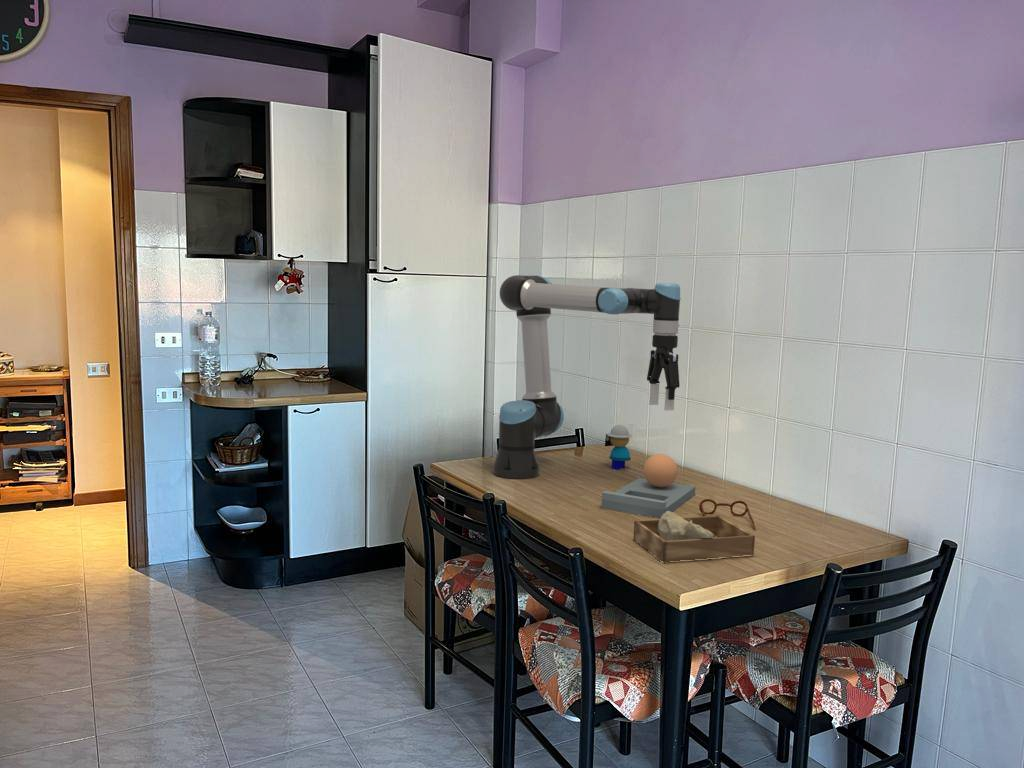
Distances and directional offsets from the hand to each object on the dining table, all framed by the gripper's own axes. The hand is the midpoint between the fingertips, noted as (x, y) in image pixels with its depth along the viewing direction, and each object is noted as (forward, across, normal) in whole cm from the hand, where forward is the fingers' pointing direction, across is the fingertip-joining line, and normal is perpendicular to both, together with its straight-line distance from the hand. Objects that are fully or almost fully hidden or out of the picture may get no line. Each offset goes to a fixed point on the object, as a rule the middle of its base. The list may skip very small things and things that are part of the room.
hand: (661, 407), depth 243 cm
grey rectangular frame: (+26, -12, +8) cm, 29 cm away
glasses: (+26, -34, -4) cm, 43 cm away
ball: (+18, -6, +2) cm, 19 cm away
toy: (+26, +28, +1) cm, 38 cm away
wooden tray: (+26, -52, +16) cm, 60 cm away
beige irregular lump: (+26, -53, +17) cm, 61 cm away
